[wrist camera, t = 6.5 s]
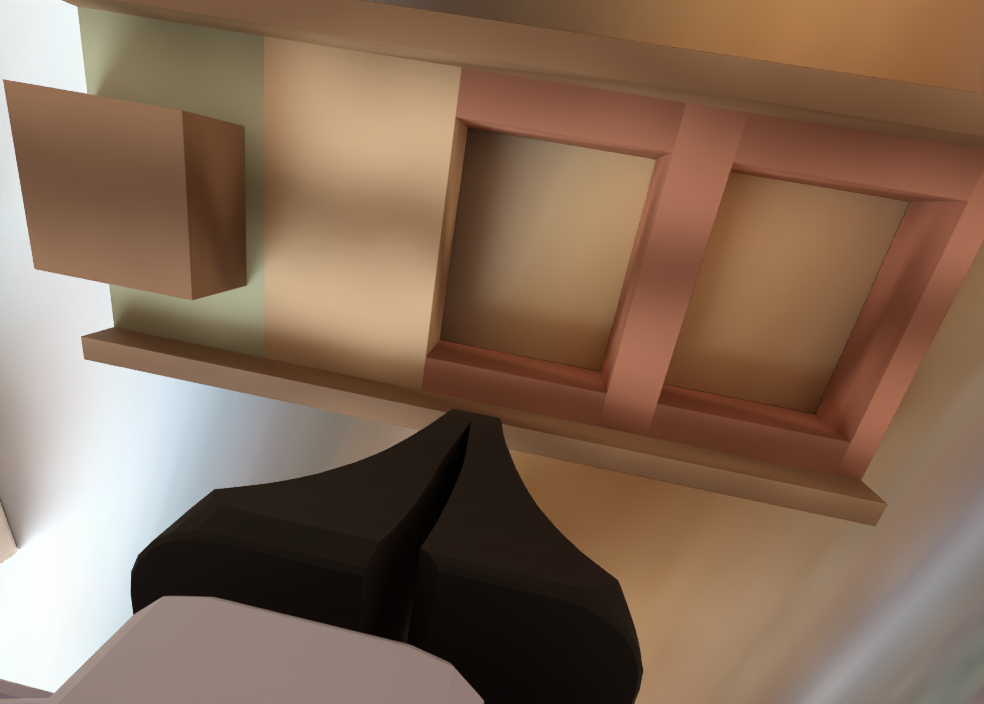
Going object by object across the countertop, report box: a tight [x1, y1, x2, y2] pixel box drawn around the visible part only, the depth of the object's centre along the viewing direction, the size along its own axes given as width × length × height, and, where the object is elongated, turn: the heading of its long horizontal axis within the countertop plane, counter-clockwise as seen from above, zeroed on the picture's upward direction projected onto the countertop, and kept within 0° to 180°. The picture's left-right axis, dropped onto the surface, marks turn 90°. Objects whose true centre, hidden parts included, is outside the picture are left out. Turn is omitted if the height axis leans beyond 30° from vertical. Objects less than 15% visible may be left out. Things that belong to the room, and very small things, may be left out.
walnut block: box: [3, 79, 247, 300], centre depth 16 cm, size 6×6×3 cm
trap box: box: [63, 0, 984, 526], centre depth 17 cm, size 14×32×4 cm, turn 81°
